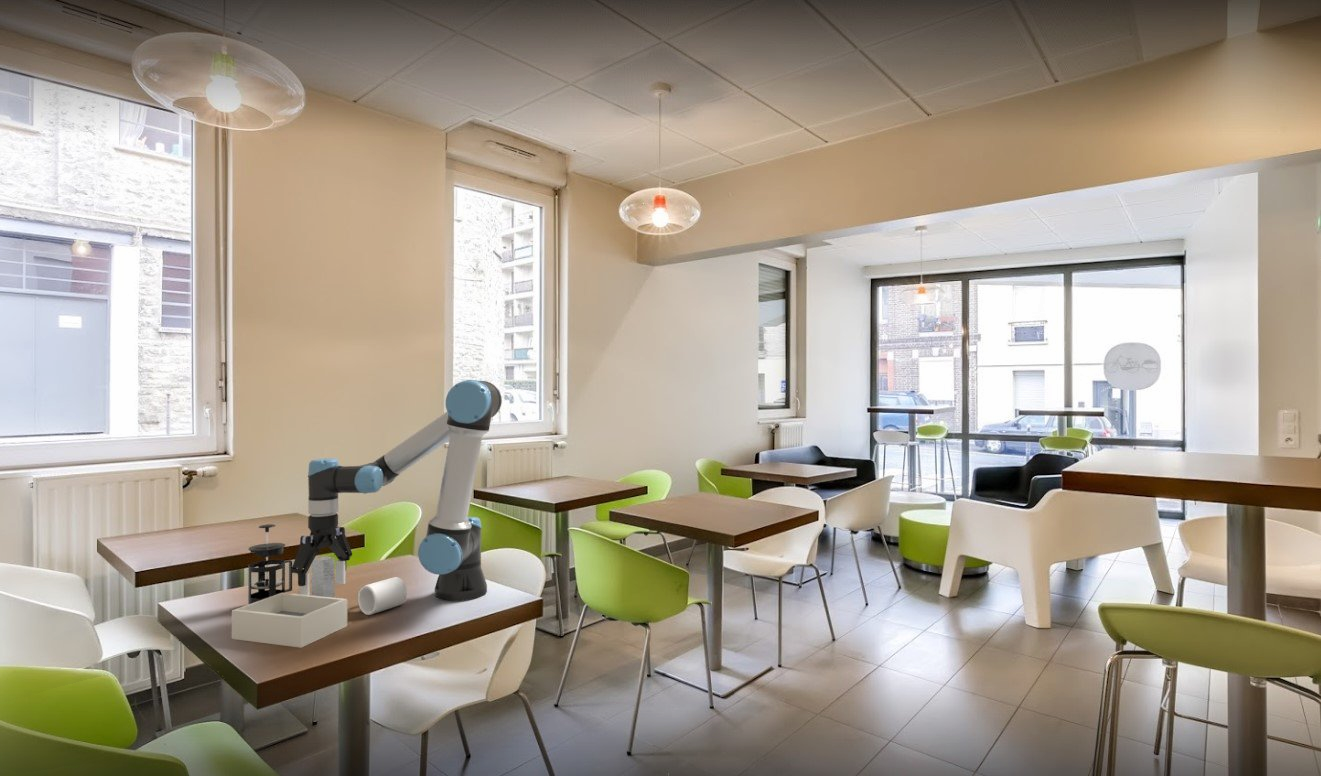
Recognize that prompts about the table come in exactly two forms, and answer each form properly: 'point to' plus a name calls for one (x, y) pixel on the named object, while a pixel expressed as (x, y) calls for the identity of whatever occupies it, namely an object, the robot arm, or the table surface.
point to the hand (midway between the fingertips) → (323, 590)
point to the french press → (267, 570)
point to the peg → (323, 576)
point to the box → (289, 619)
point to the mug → (381, 595)
